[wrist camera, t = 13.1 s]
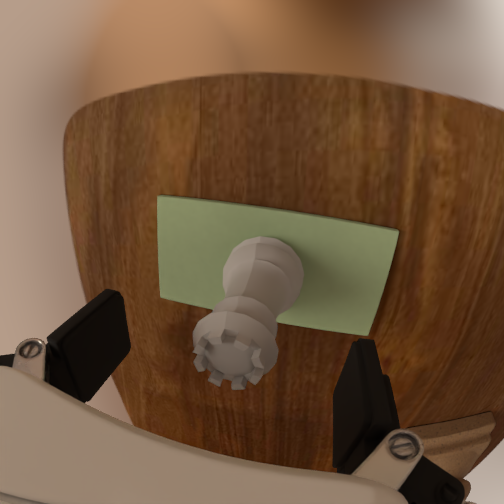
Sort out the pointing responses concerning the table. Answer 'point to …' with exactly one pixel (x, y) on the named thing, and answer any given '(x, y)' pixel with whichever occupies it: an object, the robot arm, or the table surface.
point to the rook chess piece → (248, 312)
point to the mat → (291, 233)
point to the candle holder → (457, 444)
